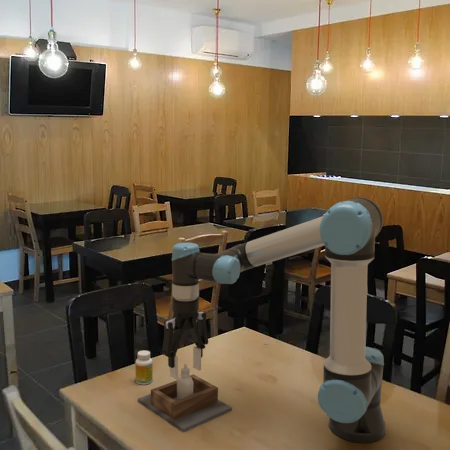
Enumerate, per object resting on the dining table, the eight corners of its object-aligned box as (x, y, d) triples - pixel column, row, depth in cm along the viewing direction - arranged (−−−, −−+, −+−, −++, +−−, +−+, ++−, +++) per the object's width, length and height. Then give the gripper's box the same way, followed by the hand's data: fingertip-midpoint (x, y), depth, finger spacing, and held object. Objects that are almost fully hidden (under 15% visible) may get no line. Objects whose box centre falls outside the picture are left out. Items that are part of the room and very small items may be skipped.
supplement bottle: (147, 386, 175) (147, 357, 174) (132, 383, 177) (132, 354, 175) (155, 379, 180) (155, 350, 179) (140, 376, 182) (140, 348, 180)
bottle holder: (232, 410, 162) (232, 393, 161) (183, 432, 150) (183, 413, 149) (185, 384, 178) (185, 367, 177) (137, 401, 166) (137, 384, 165)
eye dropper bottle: (190, 398, 166) (191, 360, 164) (193, 407, 161) (194, 368, 159) (176, 399, 165) (176, 361, 163) (178, 408, 160) (179, 369, 158)
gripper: (204, 287, 167) (204, 359, 171) (147, 301, 154) (148, 378, 157) (221, 293, 162) (220, 367, 166) (163, 308, 148) (164, 388, 152)
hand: (185, 372), depth 162 cm, fingers open, 8 cm apart
